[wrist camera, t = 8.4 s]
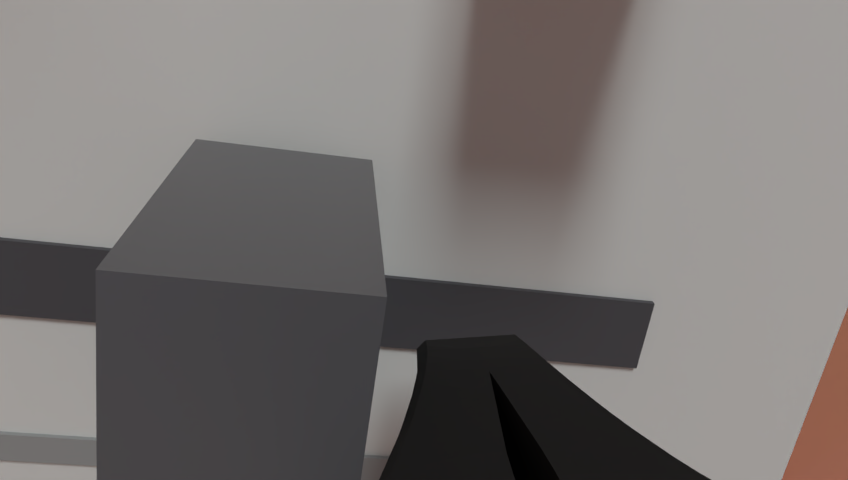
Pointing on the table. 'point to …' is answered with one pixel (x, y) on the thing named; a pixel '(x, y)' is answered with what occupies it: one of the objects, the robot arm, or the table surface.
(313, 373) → the fader
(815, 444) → the table surface
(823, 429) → the table surface
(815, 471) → the table surface
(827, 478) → the table surface
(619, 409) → the mixer plate
